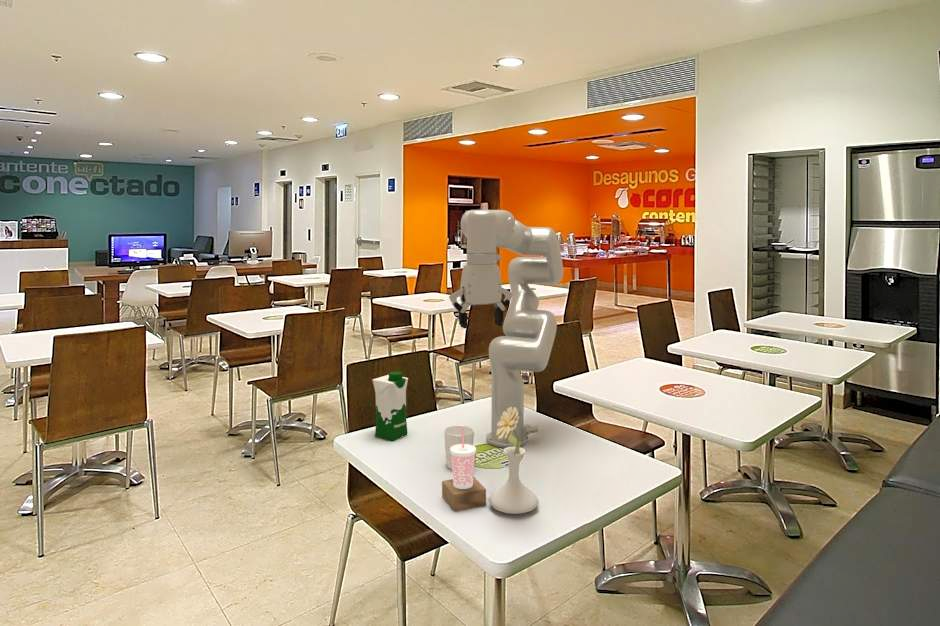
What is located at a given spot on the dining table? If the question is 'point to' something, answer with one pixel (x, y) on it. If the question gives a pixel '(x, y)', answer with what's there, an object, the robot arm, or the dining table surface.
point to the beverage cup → (463, 464)
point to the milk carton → (391, 406)
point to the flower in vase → (512, 472)
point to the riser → (464, 495)
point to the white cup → (456, 439)
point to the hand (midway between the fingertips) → (481, 326)
